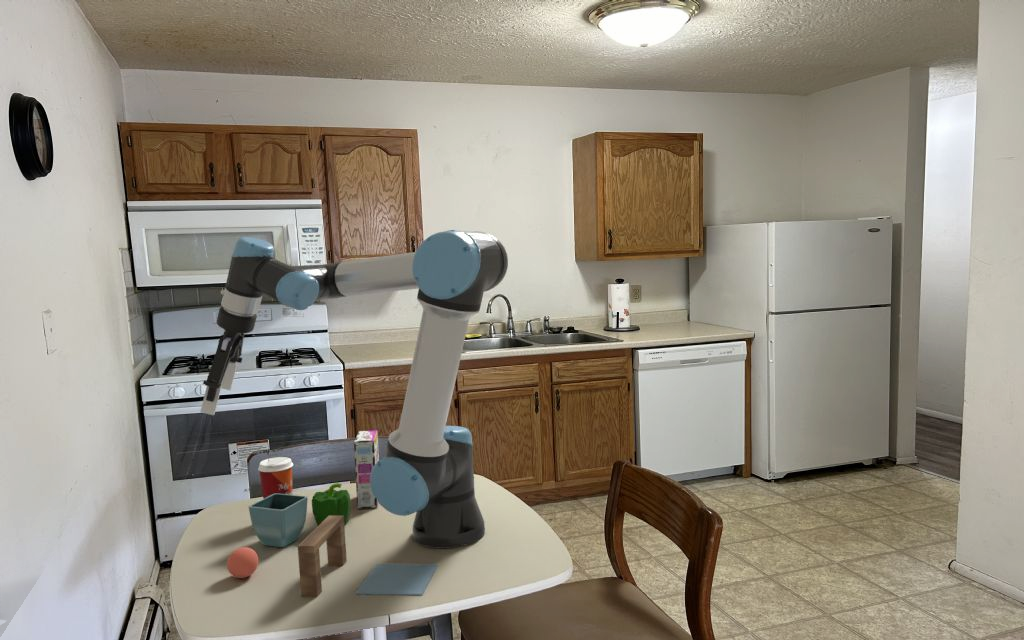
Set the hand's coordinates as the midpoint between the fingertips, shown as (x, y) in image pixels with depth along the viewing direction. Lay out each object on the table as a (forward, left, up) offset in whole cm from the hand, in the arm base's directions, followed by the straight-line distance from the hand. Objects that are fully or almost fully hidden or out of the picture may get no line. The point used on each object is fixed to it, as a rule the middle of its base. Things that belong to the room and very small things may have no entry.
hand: (216, 400), depth 154 cm
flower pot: (-15, +5, -30) cm, 34 cm away
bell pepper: (-23, -3, -30) cm, 38 cm away
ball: (-15, +21, -27) cm, 37 cm away
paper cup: (-9, -7, -30) cm, 32 cm away
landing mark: (-45, +21, -30) cm, 58 cm away
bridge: (-31, +21, -30) cm, 48 cm away
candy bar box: (-26, -20, -30) cm, 44 cm away
